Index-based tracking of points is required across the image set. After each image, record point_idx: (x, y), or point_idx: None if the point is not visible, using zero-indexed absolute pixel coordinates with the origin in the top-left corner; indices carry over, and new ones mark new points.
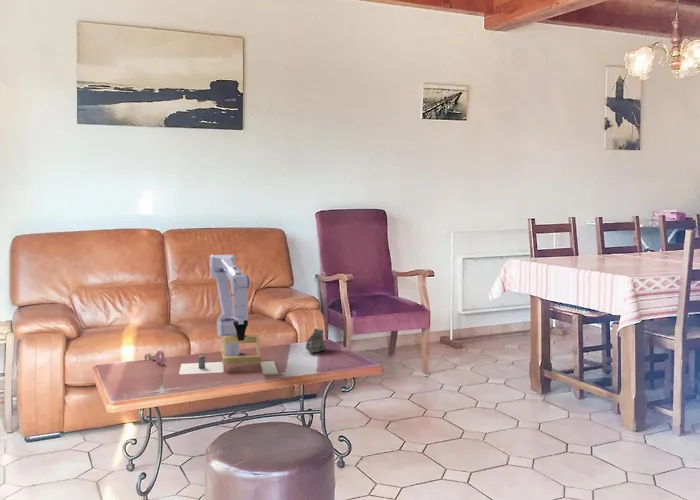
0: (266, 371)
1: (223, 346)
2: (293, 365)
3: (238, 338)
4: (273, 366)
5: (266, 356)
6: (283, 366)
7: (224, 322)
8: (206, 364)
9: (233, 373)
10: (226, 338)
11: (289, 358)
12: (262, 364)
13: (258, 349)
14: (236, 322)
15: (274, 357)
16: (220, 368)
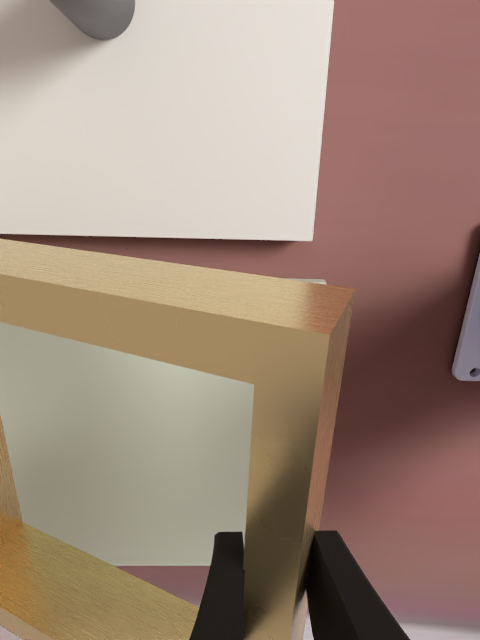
0: (27, 514)
1: (16, 296)
2: None
3: (210, 565)
4: (154, 555)
5: (476, 530)
6: (186, 591)
7: None
8: (246, 58)
9: None
10: (258, 392)
11: None
12: (221, 504)
13: (21, 629)
14: None
15: (427, 566)
16: (59, 207)
